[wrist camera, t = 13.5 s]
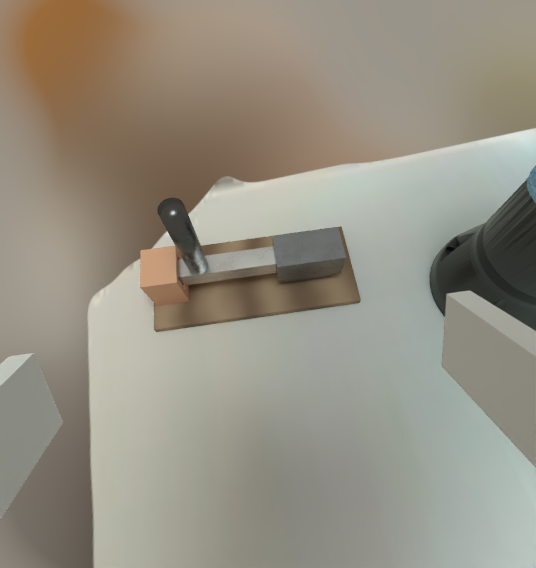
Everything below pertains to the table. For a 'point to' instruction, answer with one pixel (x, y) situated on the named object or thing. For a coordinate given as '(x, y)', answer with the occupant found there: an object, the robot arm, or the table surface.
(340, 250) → the outer sleeve
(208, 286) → the base board
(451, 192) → the table surface
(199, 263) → the sliding bolt
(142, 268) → the socket block
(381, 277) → the table surface
